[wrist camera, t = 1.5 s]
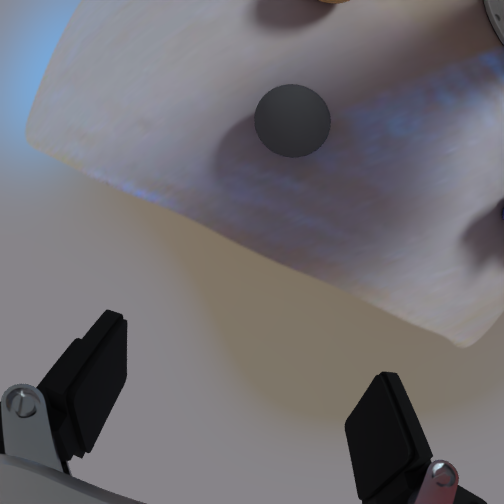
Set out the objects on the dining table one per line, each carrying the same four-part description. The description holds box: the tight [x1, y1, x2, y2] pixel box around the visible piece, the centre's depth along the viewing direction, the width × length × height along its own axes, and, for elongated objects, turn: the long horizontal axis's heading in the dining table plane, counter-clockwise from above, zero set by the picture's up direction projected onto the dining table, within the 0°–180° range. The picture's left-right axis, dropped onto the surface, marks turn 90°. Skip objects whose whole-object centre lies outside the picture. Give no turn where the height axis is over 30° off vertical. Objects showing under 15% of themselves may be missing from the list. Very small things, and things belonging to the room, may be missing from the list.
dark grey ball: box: [254, 84, 331, 157], centre depth 21 cm, size 6×6×6 cm
